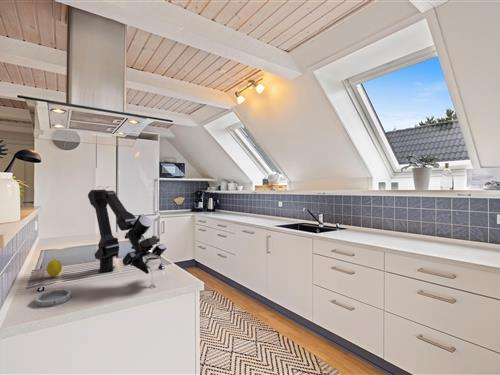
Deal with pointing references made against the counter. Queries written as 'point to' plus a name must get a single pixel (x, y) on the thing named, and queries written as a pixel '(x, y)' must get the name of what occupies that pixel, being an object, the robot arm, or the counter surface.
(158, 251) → the robot arm
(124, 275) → the counter surface
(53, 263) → the lemon
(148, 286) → the wineglass
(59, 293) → the holder
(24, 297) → the counter surface
